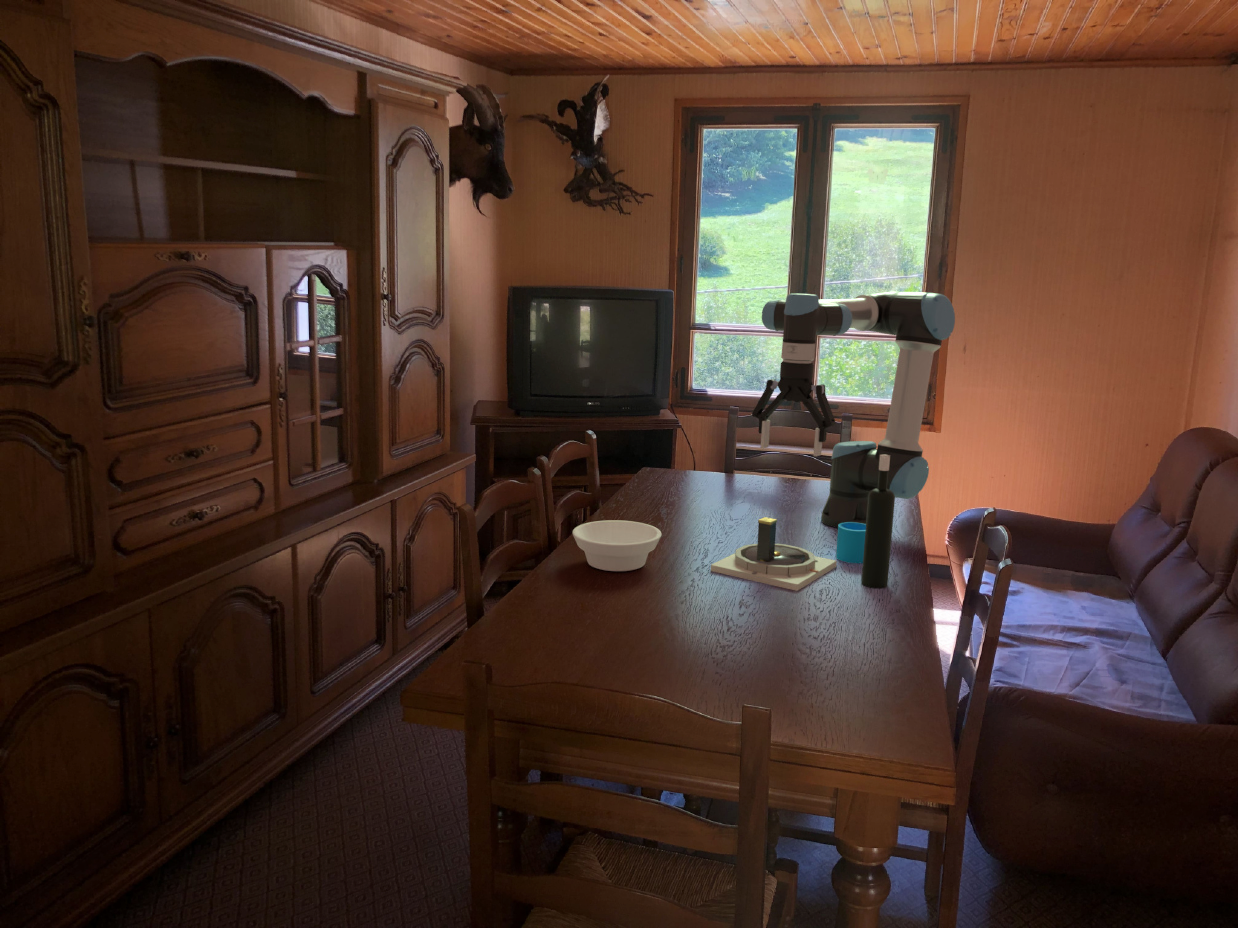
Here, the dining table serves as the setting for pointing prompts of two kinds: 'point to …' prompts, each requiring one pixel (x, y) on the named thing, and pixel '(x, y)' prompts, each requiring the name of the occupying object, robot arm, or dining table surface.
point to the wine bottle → (878, 530)
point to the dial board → (774, 579)
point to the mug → (851, 542)
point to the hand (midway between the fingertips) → (790, 451)
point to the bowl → (616, 543)
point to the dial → (772, 547)
